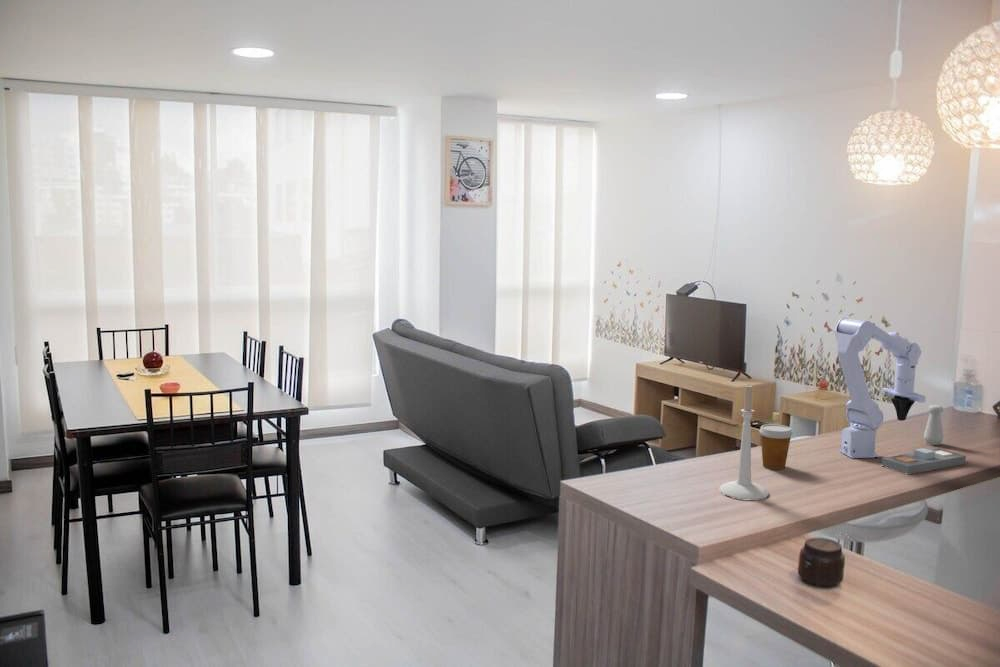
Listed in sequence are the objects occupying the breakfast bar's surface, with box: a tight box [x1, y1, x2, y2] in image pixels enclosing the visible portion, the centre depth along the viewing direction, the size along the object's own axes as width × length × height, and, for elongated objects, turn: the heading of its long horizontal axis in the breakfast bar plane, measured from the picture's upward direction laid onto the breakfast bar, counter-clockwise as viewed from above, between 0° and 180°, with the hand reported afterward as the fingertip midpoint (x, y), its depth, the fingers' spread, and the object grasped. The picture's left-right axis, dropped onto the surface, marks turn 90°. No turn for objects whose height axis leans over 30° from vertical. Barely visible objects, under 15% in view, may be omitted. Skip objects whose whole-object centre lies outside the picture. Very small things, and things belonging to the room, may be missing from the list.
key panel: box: [881, 448, 967, 475], centre depth 251 cm, size 25×9×2 cm, turn 115°
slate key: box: [913, 447, 935, 460], centre depth 251 cm, size 4×4×2 cm
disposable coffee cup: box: [758, 423, 794, 470], centre depth 248 cm, size 10×10×12 cm
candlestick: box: [718, 384, 769, 501], centre depth 224 cm, size 13×13×30 cm
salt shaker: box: [923, 404, 944, 446], centre depth 273 cm, size 6×6×13 cm
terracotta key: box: [895, 456, 916, 463], centre depth 248 cm, size 4×4×2 cm
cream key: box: [935, 450, 953, 457], centre depth 254 cm, size 4×4×2 cm
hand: (901, 420), depth 268 cm, fingers closed
